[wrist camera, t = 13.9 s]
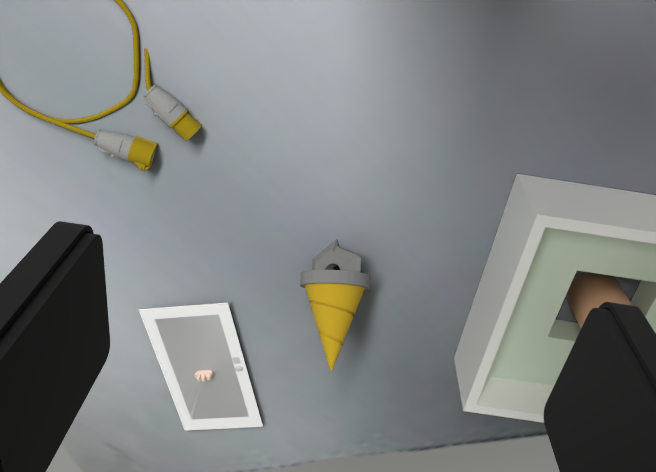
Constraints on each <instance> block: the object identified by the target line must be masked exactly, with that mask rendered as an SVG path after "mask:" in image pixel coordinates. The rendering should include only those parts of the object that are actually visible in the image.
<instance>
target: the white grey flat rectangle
mask: <svg viewBox="0 0 656 472" xmlns="http://www.w3.org/2000/svg"><path fill="white" fill-rule="evenodd" d="M139 312H140V314H141V317H142V320H143V322H144V325H145V327H146V330H147V333H148V335H149V338H150V341H151V343H152V346H153V348H154V351H155V354H156V356H157V359H158V361H159V364H160V367H161V369H162V372H163V374H164V377H165V380H166V382H167V385H168V387H169V390H170V393H171V395H172V398H173V400H174V403H175V406H176V408H177V411H178V414H179V416H180V419H181V421H182V424H183V427H184V429H185V430H203V429H224V428H244V427H263V424H262V421H261V417H260V414H259V410H258V407H257V403H256V400H255V396H254V393H253V389H252V386H251V382H250V379H249V375H248V372H247V368H246V365H245V361H244V358H243V354H242V351H241V347H240V344H239V340H238V336H237V333H236V329H235V326H234V322H233V319H232V315H231V312H230V308H229V305H228V303H217V304H204V305H190V306H177V307H164V308H151V309H139Z"/></svg>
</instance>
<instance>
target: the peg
mask: <svg viewBox="0 0 656 472" xmlns="http://www.w3.org/2000/svg"><path fill="white" fill-rule="evenodd" d="M566 297H567V300H568V303H569V305H570V307H571V309H572V311H573V313H574V315H575V317H576V320H577V322H578V324H579V326H580V328H582V326H583V324H584V322H585V320H586V317H587V315H588V313H589V312H590V310H591V309H593V308H599V306H600V305H601V304H602V303H604V302H612V303H619V304H625V305H632V304H631V302H630V301H629V299H628V298H627V296H626V294H625V293H624V291H623V289H622V288H621V286H620V285H619V283H618V281H617V280H616V278H615V277H614V276H610V275H604V274H597V273H591V272H586V273H583V274H581V275H579V276H578V277H576V278H575V279H574V280H573V281H572V283H571V285H570V287H569V290H568V292H567V294H566Z"/></svg>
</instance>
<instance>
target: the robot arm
mask: <svg viewBox="0 0 656 472" xmlns="http://www.w3.org/2000/svg"><path fill="white" fill-rule="evenodd" d="M109 349H110V334H109V321H108V308H107V295H106V282H105V269H104V257H103V244H102V238H101V236H100V235H97V234H94V233H93V230H92V228H91V227H90V226H88V225H82V224H75V223H68V222H61V221H60V222H56V223H55V224H54V225H53V226H52V227H51V228H50V229H49V230H48V231H47V233H46V234H45V235H44V236H43V237H42V238H41V239H40V240H39V241H38V242H37V244H36V245H35V246H34V247H33V248H32V249H31V250H30V251H29V252H28V253H27V255H26V256H25V257H24V258H23V259H22V260H21V261H20V262H19V263H18V264H17V266H16V267H15V268H14V269H13V270H12V271H11V272H10V273H9V274H8V275H7V277H6V278H5V279H4V280H3V281H2V282H1V283H0V472H46V470H47V468H48V466H49V465H50V463H51V461H52V459H53V457H54V455H55V454H56V452H57V450H58V448H59V446H60V444H61V443H62V441H63V439H64V437H65V435H66V433H67V432H68V430H69V428H70V426H71V424H72V422H73V421H74V419H75V417H76V415H77V413H78V411H79V410H80V408H81V406H82V404H83V402H84V400H85V399H86V397H87V395H88V393H89V391H90V389H91V387H92V386H93V384H94V382H95V380H96V378H97V376H98V375H99V373H100V371H101V369H102V367H103V365H104V364H105V362H106V359H107V357H108V354H109ZM544 423H545V427H546V430H547V433H548V436H549V439H550V442H551V446H552V449H553V452H554V455H555V458H556V461H557V464H558V467H559V470H560V472H656V333H655V332H654V330H653V328H652V327H651V325H650V324H649V322H648V321H647V319H646V317H645V316H644V314H643V313H642V311H641V310H640V309H639V308H638V307H636V306H632V305H625V304H619V303H612V302H604V303H602V304H601V305H600V306H599V308H593V309H591V310H590V312H589V313H588V315H587V317H586V320H585V322H584V324H583V326H582V328H581V330H580V332H579V334H578V336H577V339H576V341H575V343H574V345H573V347H572V349H571V351H570V353H569V355H568V358H567V360H566V362H565V364H564V366H563V368H562V370H561V372H560V374H559V377H558V379H557V381H556V383H555V385H554V387H553V389H552V391H551V393H550V396H549V398H548V400H547V402H546V404H545V407H544Z"/></svg>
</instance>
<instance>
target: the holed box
mask: <svg viewBox="0 0 656 472" xmlns="http://www.w3.org/2000/svg"><path fill="white" fill-rule="evenodd" d="M577 271H584V272H591V273H597V274H604V275H610V276H617V277H624V278H630V279H637V280H641V282H640V284H639V286H638V288H637V290H636V292H635V294H634V296H633V297H632V299H631V301H630V302H631V304H632V306H636V307H638V308H639V309H640V310H641V311H642V313H643V314H644V316H645V317H646V319H647V321H648V322H649V324H650V325H651V327H652V328H653V330H654V332H655V333H656V195H652V194H645V193H639V192H632V191H626V190H619V189H613V188H606V187H600V186H593V185H587V184H580V183H574V182H568V181H561V180H555V179H548V178H542V177H535V176H529V175H522V174H516V177H515V180H514V183H513V186H512V189H511V192H510V195H509V198H508V201H507V204H506V207H505V209H504V212H503V215H502V218H501V221H500V224H499V227H498V230H497V233H496V236H495V239H494V242H493V245H492V248H491V251H490V253H489V256H488V259H487V262H486V265H485V268H484V271H483V274H482V277H481V280H480V283H479V286H478V289H477V292H476V295H475V297H474V300H473V303H472V306H471V309H470V312H469V315H468V318H467V321H466V324H465V327H464V330H463V333H462V336H461V339H460V341H459V344H458V347H457V350H456V353H455V356H454V362H455V367H456V373H457V379H458V384H459V390H460V395H461V401H462V407H463V411H467V412H474V413H481V414H488V415H495V416H502V417H509V418H515V419H522V420H529V421H536V422H543V423H544V407H545V404H546V402H547V400H548V398H549V396H550V393H551V391H552V389H553V387H554V385H555V383H556V381H557V379H558V377H559V374H560V372H561V370H562V368H563V366H564V364H565V362H566V360H567V358H568V355H569V353H570V351H571V349H572V347H573V345H574V343H575V341H576V339H577V336H578V334H579V332H580V330H581V328H580V326H579V324H578V323H576V322H569V321H562V320H556V317H557V314H558V312H559V310H560V308H561V305H562V303H563V301H564V299H565V296H566V294H567V292H568V290H569V287H570V285H571V283H572V281H573V278H574V276H575V274H576V272H577Z"/></svg>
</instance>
